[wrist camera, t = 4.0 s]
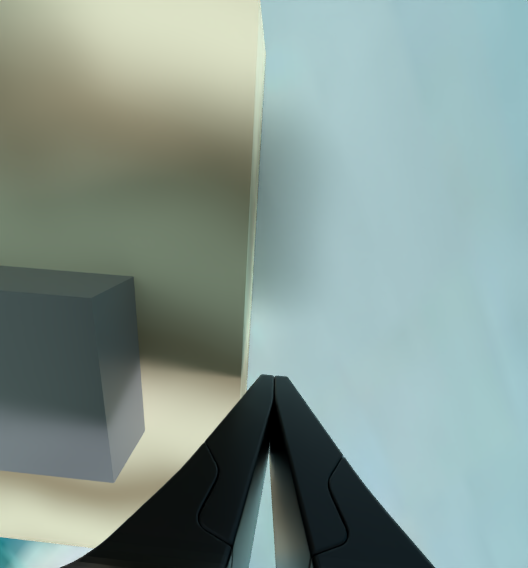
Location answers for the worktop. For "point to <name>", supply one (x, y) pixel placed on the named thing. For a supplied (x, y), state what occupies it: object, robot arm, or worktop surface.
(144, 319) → the cream wavy flat block
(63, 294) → the grey rectangular block
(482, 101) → the worktop surface
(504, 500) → the worktop surface
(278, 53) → the worktop surface
